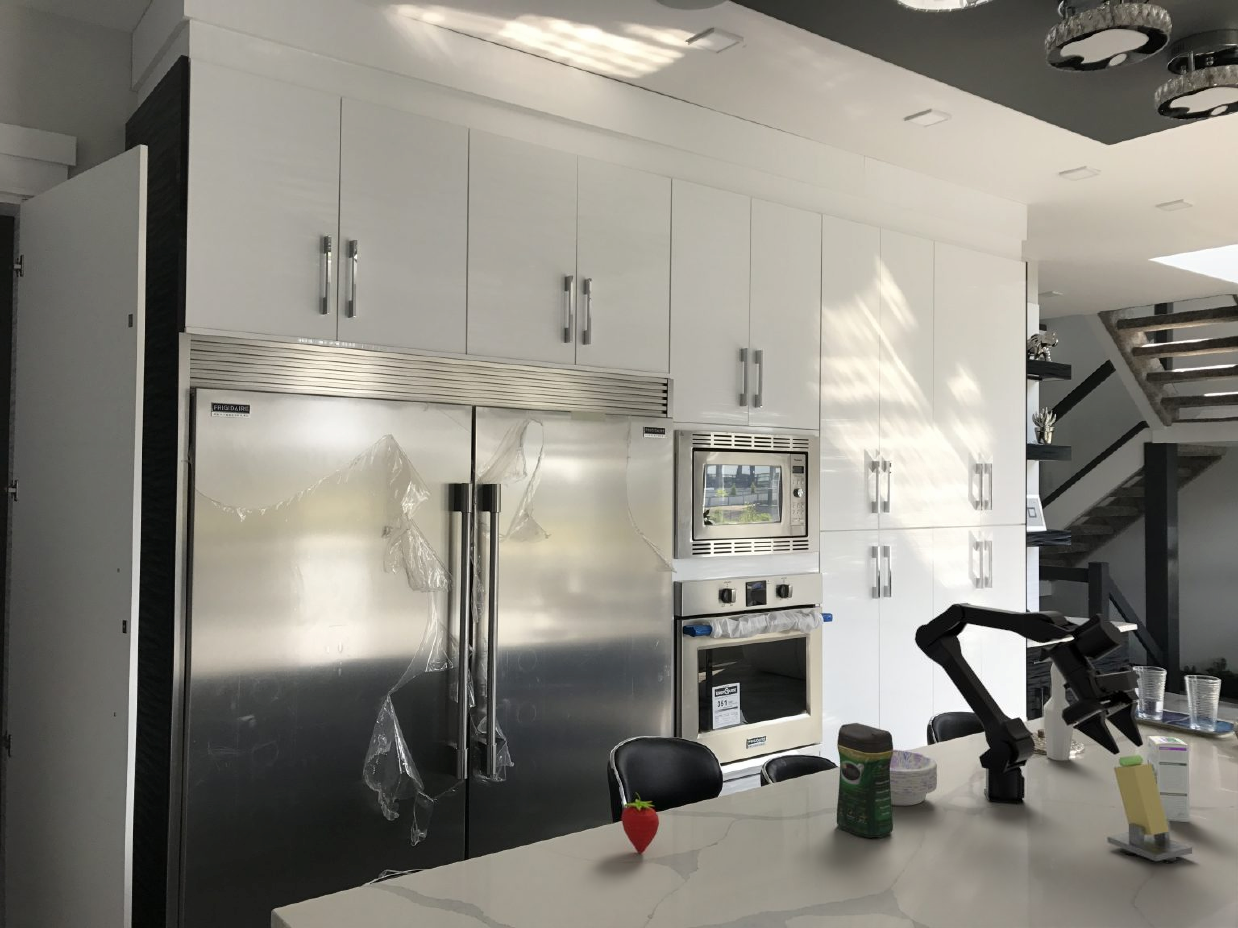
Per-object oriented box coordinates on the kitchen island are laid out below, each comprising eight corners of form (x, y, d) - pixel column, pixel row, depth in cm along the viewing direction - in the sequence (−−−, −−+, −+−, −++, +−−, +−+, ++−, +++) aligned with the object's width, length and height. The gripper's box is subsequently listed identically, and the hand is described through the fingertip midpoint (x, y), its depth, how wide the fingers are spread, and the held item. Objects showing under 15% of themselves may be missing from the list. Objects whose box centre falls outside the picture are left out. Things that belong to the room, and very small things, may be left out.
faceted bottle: (1078, 761, 218) (1078, 665, 218) (1050, 761, 218) (1050, 664, 218) (1065, 754, 224) (1066, 660, 225) (1038, 753, 224) (1039, 659, 225)
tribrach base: (1107, 848, 164) (1107, 817, 164) (1142, 840, 168) (1142, 811, 168) (1156, 867, 156) (1156, 835, 156) (1192, 859, 160) (1192, 827, 160)
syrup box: (1190, 822, 178) (1191, 744, 178) (1156, 819, 179) (1156, 742, 180) (1179, 812, 184) (1179, 736, 184) (1146, 809, 185) (1146, 734, 185)
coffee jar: (900, 834, 169) (901, 728, 170) (870, 842, 165) (871, 734, 165) (858, 818, 177) (860, 717, 178) (828, 825, 173) (830, 722, 173)
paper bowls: (851, 804, 185) (852, 763, 185) (862, 782, 199) (863, 744, 199) (934, 816, 179) (934, 773, 179) (939, 792, 193) (939, 753, 193)
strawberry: (633, 863, 154) (634, 801, 154) (613, 847, 160) (615, 787, 161) (666, 858, 156) (667, 796, 156) (645, 842, 163) (646, 783, 163)
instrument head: (1131, 834, 163) (1111, 757, 167) (1148, 831, 165) (1128, 755, 169) (1151, 834, 159) (1131, 756, 163) (1169, 831, 161) (1148, 753, 165)
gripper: (1088, 655, 169) (1143, 737, 161) (1135, 646, 181) (1189, 722, 173) (1039, 684, 176) (1090, 765, 168) (1088, 674, 187) (1138, 749, 180)
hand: (1129, 749), depth 172 cm, fingers open, 9 cm apart
